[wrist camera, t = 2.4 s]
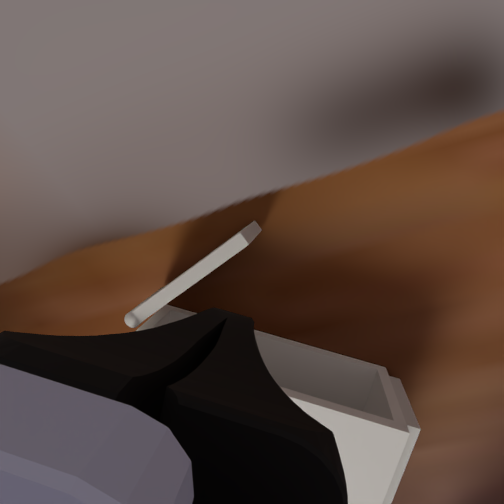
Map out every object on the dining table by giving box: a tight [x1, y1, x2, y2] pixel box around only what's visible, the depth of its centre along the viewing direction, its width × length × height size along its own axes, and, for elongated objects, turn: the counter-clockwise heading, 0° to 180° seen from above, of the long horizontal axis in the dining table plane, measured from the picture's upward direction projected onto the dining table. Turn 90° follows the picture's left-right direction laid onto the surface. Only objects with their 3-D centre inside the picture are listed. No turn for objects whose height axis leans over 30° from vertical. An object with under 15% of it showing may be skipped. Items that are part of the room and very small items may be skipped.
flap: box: [125, 220, 262, 328], centre depth 17 cm, size 7×1×4 cm, turn 127°
